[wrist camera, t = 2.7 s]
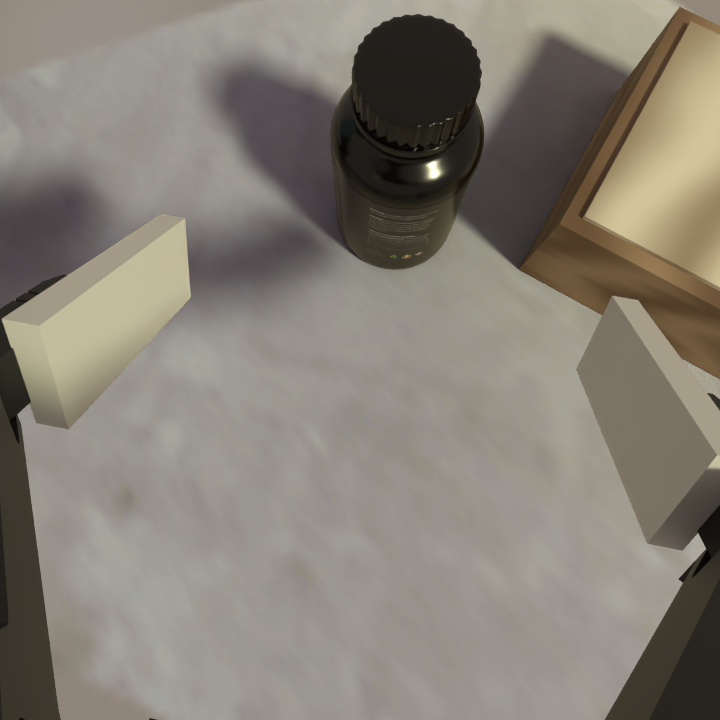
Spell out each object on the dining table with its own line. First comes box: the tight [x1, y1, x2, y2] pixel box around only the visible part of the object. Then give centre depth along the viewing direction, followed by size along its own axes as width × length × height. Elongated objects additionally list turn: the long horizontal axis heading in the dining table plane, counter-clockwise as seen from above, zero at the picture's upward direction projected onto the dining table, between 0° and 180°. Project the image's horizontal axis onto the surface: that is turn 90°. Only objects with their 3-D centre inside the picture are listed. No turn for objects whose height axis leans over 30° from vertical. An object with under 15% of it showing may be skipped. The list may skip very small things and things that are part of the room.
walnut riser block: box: [519, 7, 720, 379], centre depth 26 cm, size 14×14×6 cm
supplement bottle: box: [331, 14, 484, 270], centre depth 24 cm, size 7×7×12 cm
